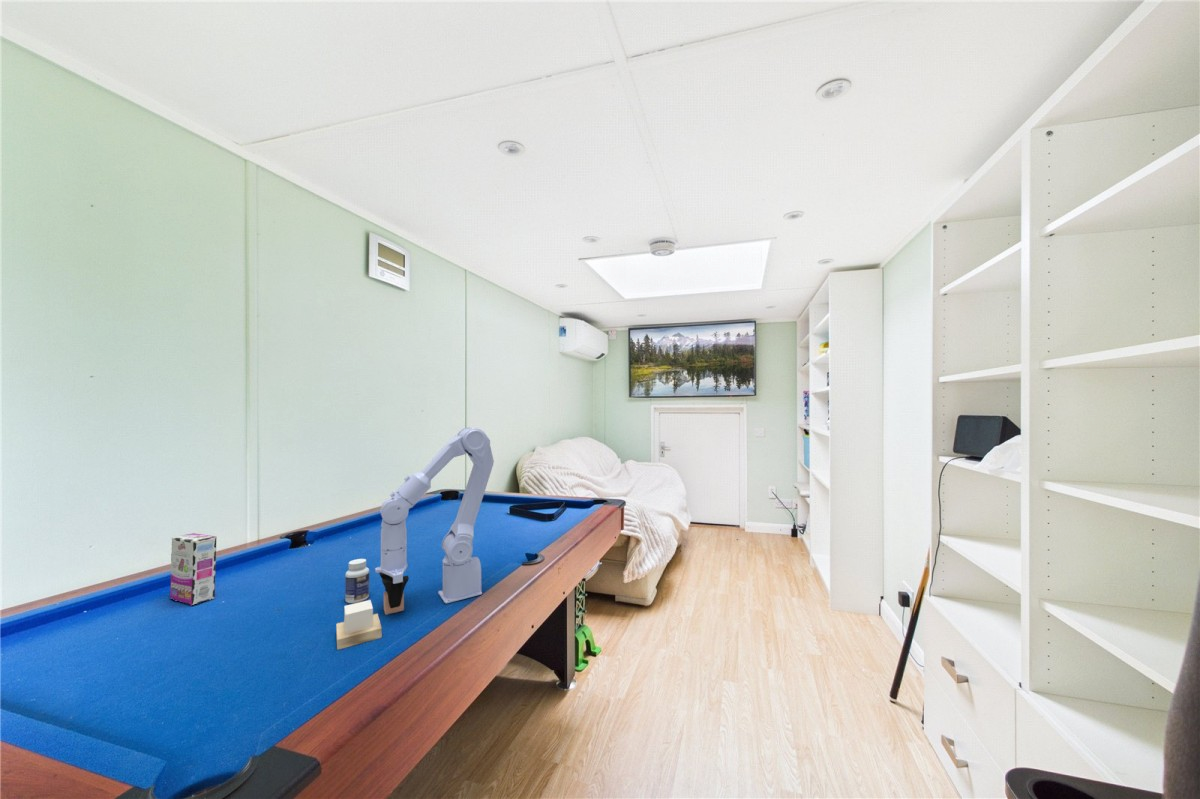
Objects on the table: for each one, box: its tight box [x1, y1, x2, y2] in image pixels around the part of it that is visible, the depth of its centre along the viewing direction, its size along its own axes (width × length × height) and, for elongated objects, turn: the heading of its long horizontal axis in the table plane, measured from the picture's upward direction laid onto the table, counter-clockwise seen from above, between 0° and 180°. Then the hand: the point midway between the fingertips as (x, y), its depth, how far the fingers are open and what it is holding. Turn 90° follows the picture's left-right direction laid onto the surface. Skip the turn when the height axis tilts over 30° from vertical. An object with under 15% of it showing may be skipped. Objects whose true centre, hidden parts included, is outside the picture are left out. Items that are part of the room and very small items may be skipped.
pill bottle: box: [344, 558, 370, 604], centre depth 107 cm, size 5×5×10 cm
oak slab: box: [335, 613, 383, 651], centre depth 89 cm, size 8×8×2 cm
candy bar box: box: [169, 532, 217, 606], centre depth 109 cm, size 11×5×16 cm, turn 68°
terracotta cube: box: [383, 591, 405, 616], centre depth 101 cm, size 4×4×4 cm
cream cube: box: [343, 599, 374, 634], centre depth 89 cm, size 5×5×4 cm
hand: (393, 603), depth 101 cm, fingers closed on terracotta cube, 4 cm apart
